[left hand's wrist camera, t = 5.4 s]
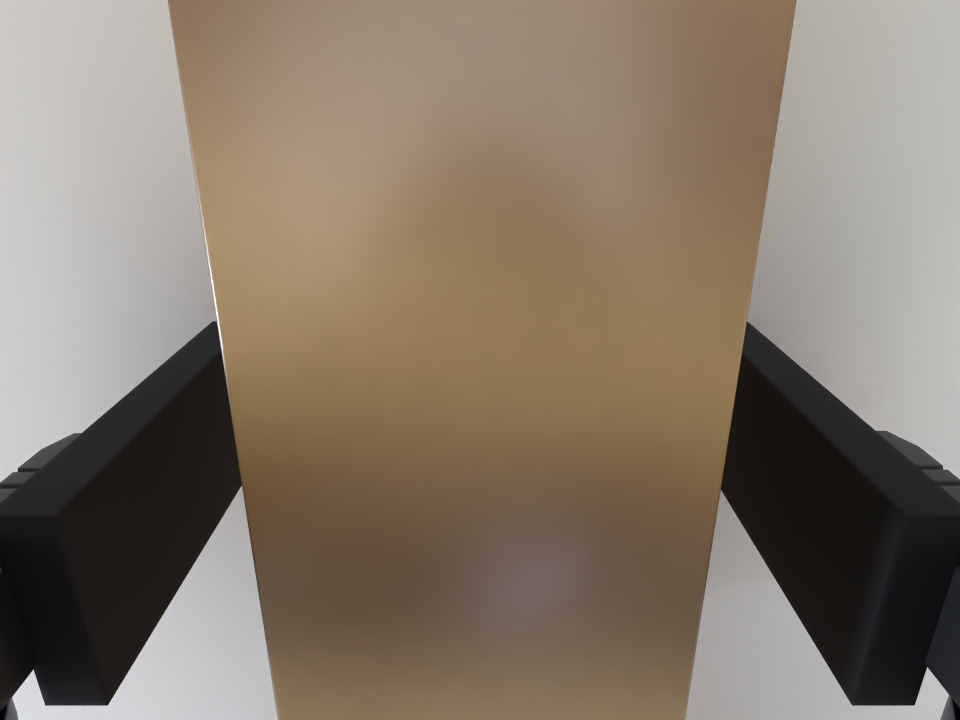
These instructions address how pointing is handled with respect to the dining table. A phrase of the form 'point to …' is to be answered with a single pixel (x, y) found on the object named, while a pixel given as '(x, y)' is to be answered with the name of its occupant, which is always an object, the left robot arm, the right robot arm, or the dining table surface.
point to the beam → (481, 334)
